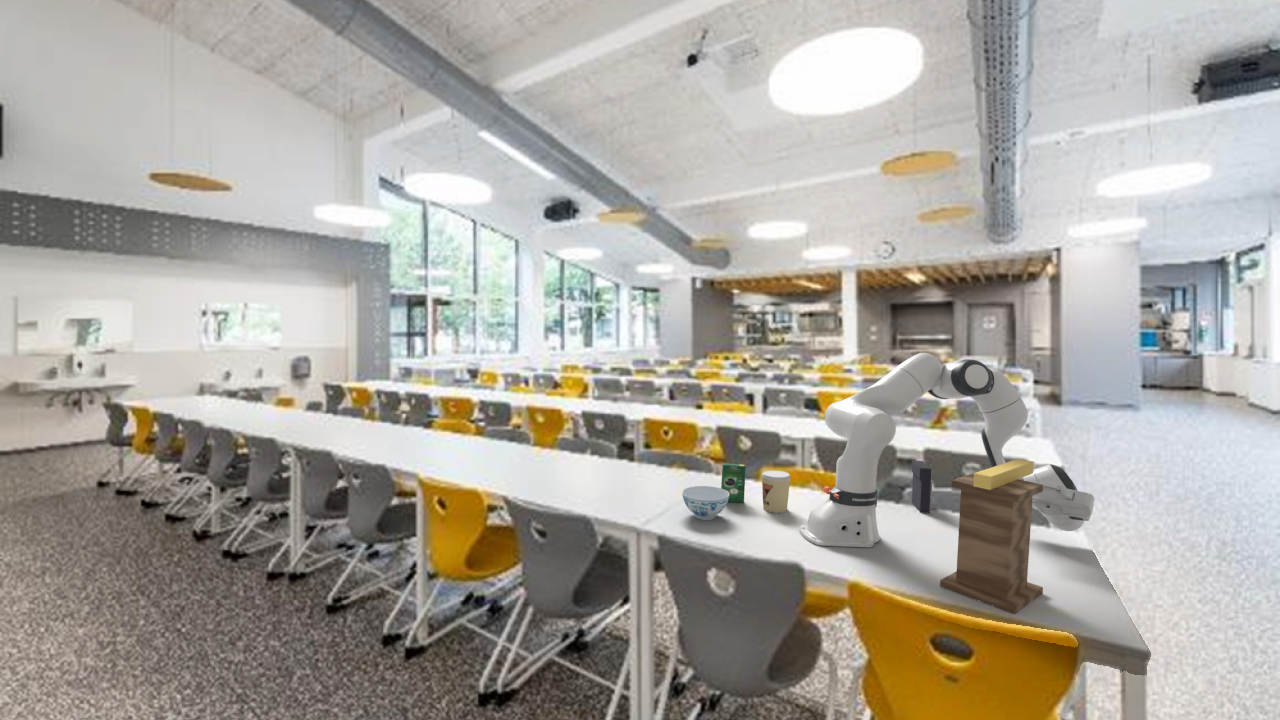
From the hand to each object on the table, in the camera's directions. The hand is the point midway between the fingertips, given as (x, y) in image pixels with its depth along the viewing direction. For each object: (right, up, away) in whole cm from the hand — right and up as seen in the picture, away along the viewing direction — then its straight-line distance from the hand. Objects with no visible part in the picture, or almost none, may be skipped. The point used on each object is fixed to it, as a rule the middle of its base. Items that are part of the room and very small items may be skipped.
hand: (1038, 483), depth 152 cm
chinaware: (-83, -18, +35) cm, 92 cm away
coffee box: (-72, -17, +51) cm, 89 cm away
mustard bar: (-17, +4, -13) cm, 22 cm away
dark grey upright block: (-9, -18, +46) cm, 50 cm away
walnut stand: (-21, -22, -14) cm, 33 cm away
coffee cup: (-59, -18, +43) cm, 75 cm away
